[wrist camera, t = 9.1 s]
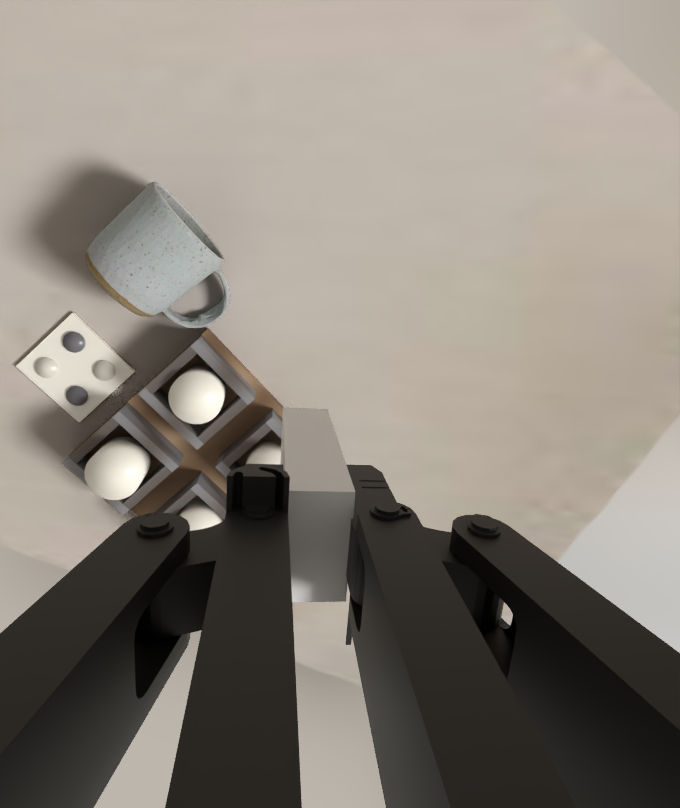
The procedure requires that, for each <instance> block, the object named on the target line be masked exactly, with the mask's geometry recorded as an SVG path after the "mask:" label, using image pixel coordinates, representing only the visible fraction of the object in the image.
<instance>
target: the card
mask: <svg viewBox="0 0 680 808" xmlns="http://www.w3.org/2000/svg"><path fill="white" fill-rule="evenodd" d="M16 367H17V368H18V369H19V370H20V371H22V372H23V373H24V374H25V375H26V376H27V377H28V378H29V379H31V380H32V381H33V382H34V383H35V384H36V385H37V386H38V387H40V388H41V389H42V390H43V391H44V392H45V393H46V394H47V395H49V396H50V397H51V398H52V399H53V400H54V401H55V402H56V403H58V404H59V405H60V406H61V407H62V408H63V409H64V410H65V411H66V412H68V413H69V414H70V415H71V416H72V417H73V418H74V419H75V420H77V421H78V422H79V423H80V422H81V421H82V420H83V419H84V418H85V417H86V416H87V415H88V414H89V413H91V412H92V411H93V410H94V409H95V408H96V407H97V406H98V405H99V404H100V403H101V402H103V401H104V400H105V399H106V398H107V397H108V396H109V395H110V394H111V393H112V392H113V391H115V390H116V389H117V388H118V387H119V386H120V385H121V384H122V383H123V382H124V381H125V380H127V379H128V378H129V377H130V376H131V375H132V374H133V373H134V372H135V370H134V369H133V368H132V367H131V366H129V365H128V364H127V363H126V362H125V361H124V360H123V359H122V358H121V357H120V356H119V355H118V354H117V353H116V352H115V351H114V350H113V349H112V348H111V347H110V346H109V345H108V344H107V343H106V342H104V341H103V340H102V339H101V338H100V337H99V336H98V335H97V334H96V333H95V332H94V331H93V330H92V329H91V328H90V327H89V326H88V325H87V324H86V323H85V322H84V321H83V320H82V319H81V318H80V317H78V316H77V315H76V314H75V313H74V312H73V313H72V314H71V315H69V316H68V317H67V318H66V319H65V320H64V321H63V322H62V323H61V324H60V325H59V326H58V327H57V328H56V329H55V330H54V331H53V332H52V333H50V334H49V335H48V336H47V337H46V338H45V339H44V340H43V341H42V342H41V343H40V344H39V345H38V346H37V347H36V348H35V349H34V350H32V351H31V352H30V353H29V354H28V355H27V356H26V357H25V358H24V359H23V360H22V361H21V362H20V363H19V364H18V365H17V366H16Z"/></svg>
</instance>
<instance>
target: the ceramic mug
mask: <svg viewBox="0 0 680 808" xmlns="http://www.w3.org/2000/svg"><path fill="white" fill-rule="evenodd" d="M86 261H87V265H88V268H89V270H90V271H91V273H92V275H93V276H94V277H95V279H96V280H97V281H98V283H99V284H100V285H101V286H102V287H103V288H104V289H105V290H106V291H107V292H108V293H109V294H110V295H111V296H112V297H113V298H114V299H115V300H116V301H118V302H119V303H120V304H121V305H122V306H124V307H125V308H127V309H128V310H130V311H131V312H133V313H135V314H137V315H140V316H146V317H152V316H154V315H156V314H158V313H160V312H163V313H164V314H165V315H166V316H167V317H168V318H169V319H170V320H172V321H174V322H175V323H176V324H179V325H181V326H184V327H187V328H202V327H205V326H208V325H210V324H212V323H214V322H215V321H217V320H218V319H220V318H221V317H222V316H223V315H224V314H225V312H226V311H227V309H228V306H229V303H230V290H229V286H228V283H227V281H226V279H225V277H224V275H223V273H222V271H221V269H220V266H222V265H223V264H224V258H223V256H222V254H221V252H220V251H219V249H218V248H217V246H216V245H215V243H214V242H213V241H212V239H211V238H210V237H209V236H208V235H207V233H206V232H205V231H204V229H203V228H202V227H201V226H200V224H199V223H198V222H197V221H196V220H195V219H194V218H193V216H192V215H191V214H190V213H189V212H188V211H187V210H186V209H185V208H184V207H183V206H182V204H181V203H180V202H179V201H178V200H177V199H176V198H175V197H174V196H173V195H172V194H171V193H170V192H168V191H167V190H166V189H165V188H164V187H162V186H161V185H160V184H158V183H156V182H152V183H150V184H148V186H147V187H146V188H145V189H144V190H143V191H142V192H141V193H140V194H139V195H138V196H137V197H136V198H135V199H134V200H133V201H131V202H130V203H129V204H128V205H127V206H126V207H125V208H124V209H123V210H122V211H121V212H120V213H119V215H118V216H117V217H116V218H115V219H114V220H113V221H112V222H111V223H110V224H108V225H107V226H106V227H105V228H104V229H103V230H102V231H101V232H100V233H99V234H98V235H97V236H96V237H95V239H94V240H93V241H92V243H91V244H90V246H89V247H88V249H87V251H86ZM213 272H215V273H217V274H218V276H219V278H220V280H221V282H222V285H223V288H224V296H223V299H222V300H221V302H220V303H219V304H217V305H216V306H215V307H213V308H212V309H210V310H209V311H207V312H205V313H203V314H199V316H198V318H189V317H184V316H181V315H180V314H177V313H176V312H174V311H173V310H171V309H170V308H169V307H170V306H171V305H172V304H174V303H175V302H176V301H177V300H178V299H180V298H181V297H182V296H183V295H184V294H185V293H187V292H188V291H189V290H190V289H192V288H193V287H195V286H196V285H197V284H199V283H200V282H201V281H202V280H204V279H205V278H206V277H207V276H209V275H210V274H211V273H213Z"/></svg>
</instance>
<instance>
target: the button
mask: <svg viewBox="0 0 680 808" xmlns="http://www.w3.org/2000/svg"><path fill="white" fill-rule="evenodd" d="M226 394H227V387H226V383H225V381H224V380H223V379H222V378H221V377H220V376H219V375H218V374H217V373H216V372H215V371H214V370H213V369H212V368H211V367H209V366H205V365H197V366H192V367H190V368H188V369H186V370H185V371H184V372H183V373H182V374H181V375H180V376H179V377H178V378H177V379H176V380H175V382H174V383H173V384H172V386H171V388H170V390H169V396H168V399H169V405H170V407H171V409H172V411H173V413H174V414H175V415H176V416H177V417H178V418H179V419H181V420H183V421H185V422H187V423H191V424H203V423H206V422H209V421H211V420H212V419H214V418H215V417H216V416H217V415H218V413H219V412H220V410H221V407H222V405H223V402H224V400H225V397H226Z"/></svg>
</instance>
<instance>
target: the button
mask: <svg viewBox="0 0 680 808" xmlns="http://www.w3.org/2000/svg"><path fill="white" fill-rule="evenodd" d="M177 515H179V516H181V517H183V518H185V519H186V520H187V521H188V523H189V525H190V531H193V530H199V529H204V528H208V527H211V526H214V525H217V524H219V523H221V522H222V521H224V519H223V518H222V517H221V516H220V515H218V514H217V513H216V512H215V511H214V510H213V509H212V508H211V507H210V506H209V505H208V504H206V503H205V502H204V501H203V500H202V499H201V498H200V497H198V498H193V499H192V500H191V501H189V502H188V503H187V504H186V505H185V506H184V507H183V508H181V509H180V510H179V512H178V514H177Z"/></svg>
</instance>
